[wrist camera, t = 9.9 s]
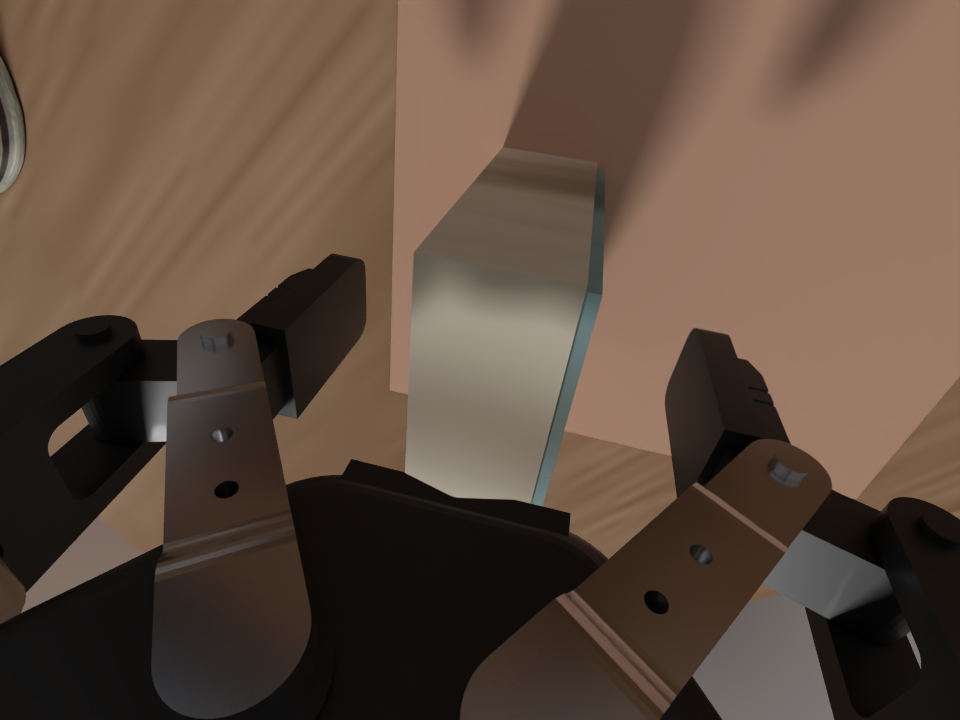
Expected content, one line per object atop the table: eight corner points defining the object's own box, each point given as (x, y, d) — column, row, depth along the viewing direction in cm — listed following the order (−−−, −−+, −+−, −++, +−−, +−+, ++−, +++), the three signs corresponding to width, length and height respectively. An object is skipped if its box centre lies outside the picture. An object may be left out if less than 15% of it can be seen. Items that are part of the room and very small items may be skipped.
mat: (404, -73, 14) (399, -75, 13) (1227, 38, 12) (1245, 38, 11) (392, 384, 23) (389, 390, 23) (852, 491, 21) (856, 499, 21)
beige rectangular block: (503, 146, 16) (413, 252, 9) (607, 164, 16) (605, 290, 8) (481, 310, 19) (404, 485, 12) (566, 328, 19) (539, 519, 12)
